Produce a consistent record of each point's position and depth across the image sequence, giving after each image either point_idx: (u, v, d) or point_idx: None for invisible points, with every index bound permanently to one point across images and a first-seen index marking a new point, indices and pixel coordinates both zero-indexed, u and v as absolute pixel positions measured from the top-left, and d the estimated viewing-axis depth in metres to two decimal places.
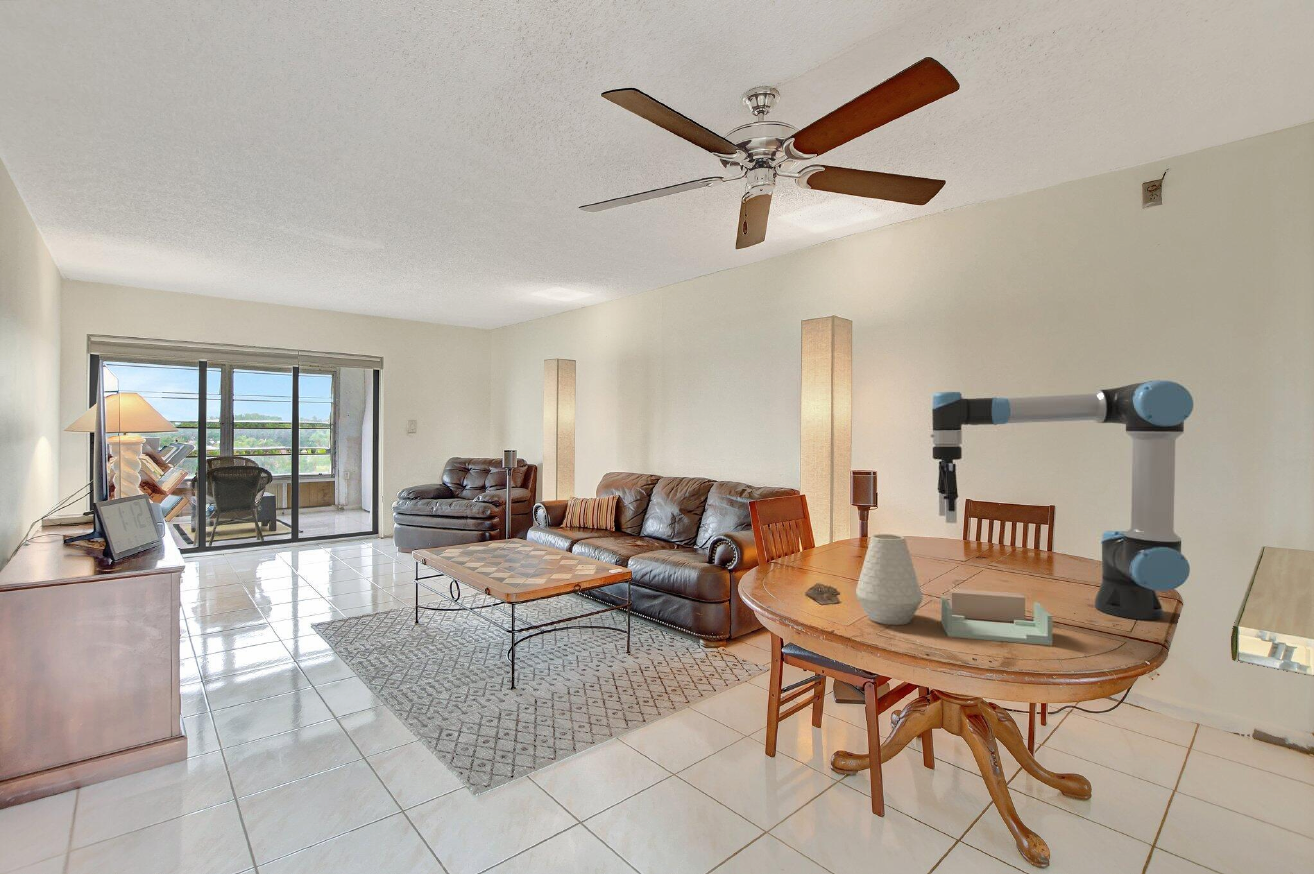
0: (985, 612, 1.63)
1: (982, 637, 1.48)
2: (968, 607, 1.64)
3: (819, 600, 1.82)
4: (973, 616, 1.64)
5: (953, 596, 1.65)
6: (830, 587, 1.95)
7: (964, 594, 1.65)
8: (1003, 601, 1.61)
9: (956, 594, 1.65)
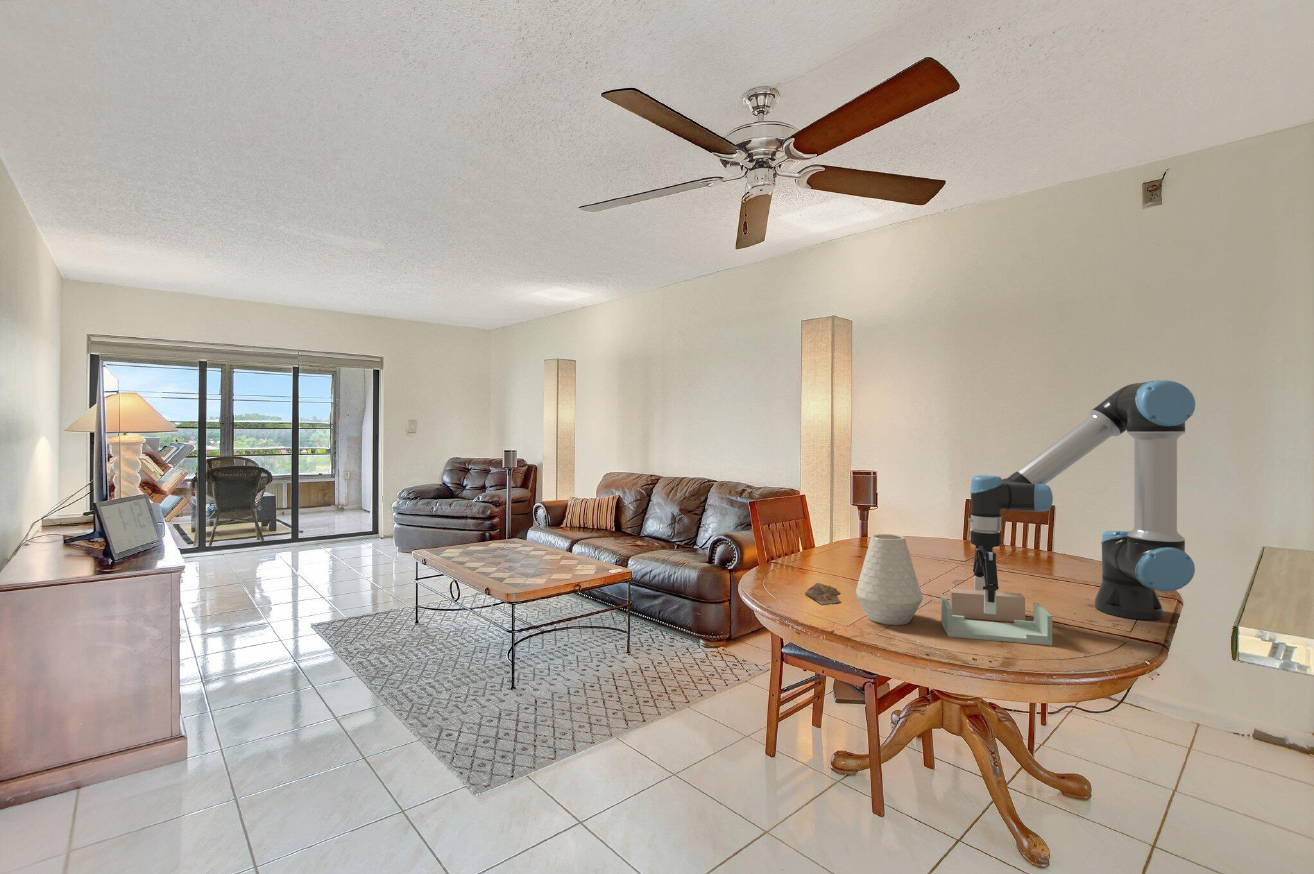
0: None
1: (982, 637, 1.48)
2: (968, 607, 1.64)
3: (819, 600, 1.82)
4: (973, 616, 1.64)
5: (953, 596, 1.66)
6: (830, 587, 1.95)
7: (964, 594, 1.65)
8: (1003, 602, 1.61)
9: (956, 594, 1.65)
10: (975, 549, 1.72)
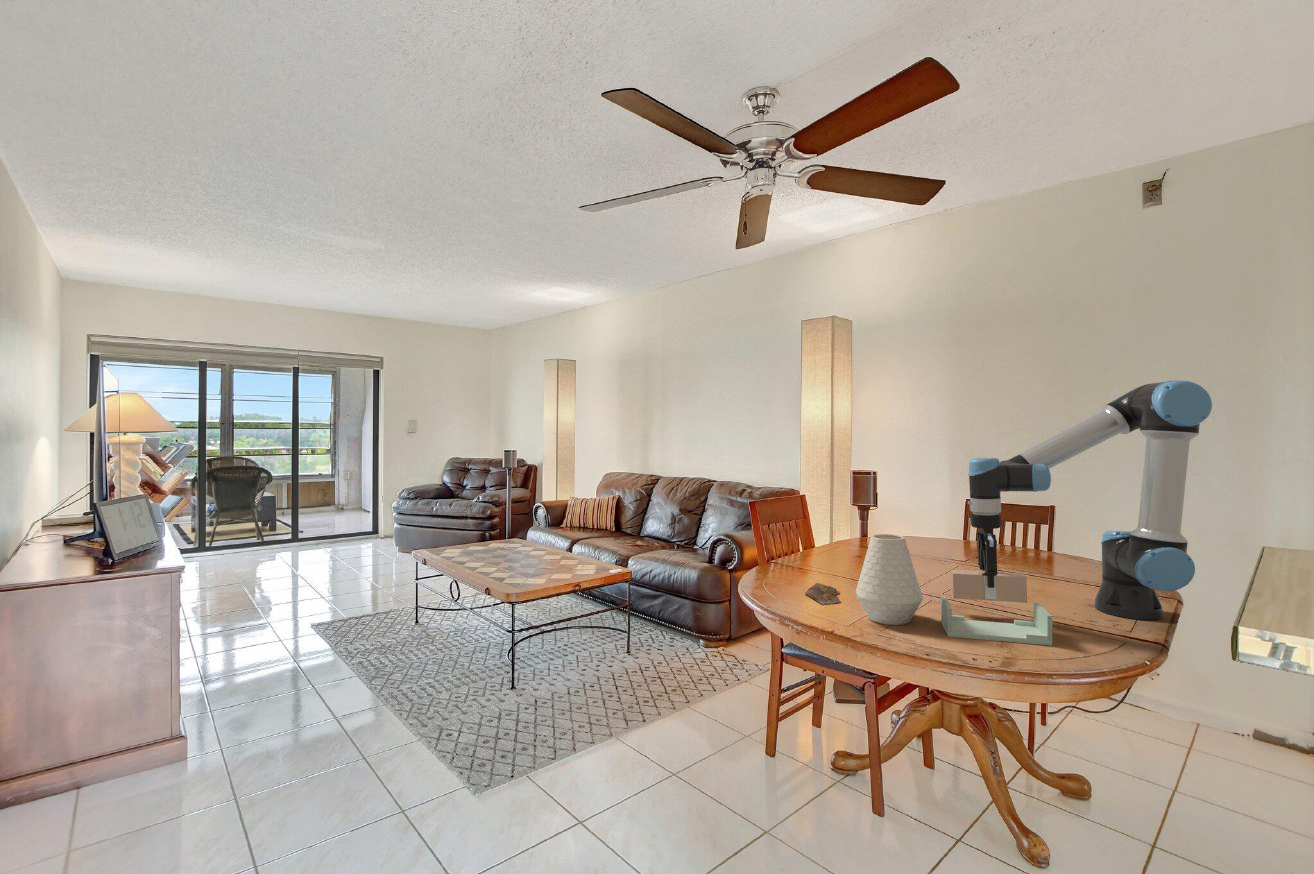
0: None
1: (982, 637, 1.48)
2: (969, 588, 1.64)
3: (819, 600, 1.82)
4: (975, 597, 1.64)
5: (954, 577, 1.65)
6: (830, 587, 1.95)
7: (965, 575, 1.64)
8: (1004, 581, 1.61)
9: (957, 575, 1.65)
10: (977, 538, 1.71)
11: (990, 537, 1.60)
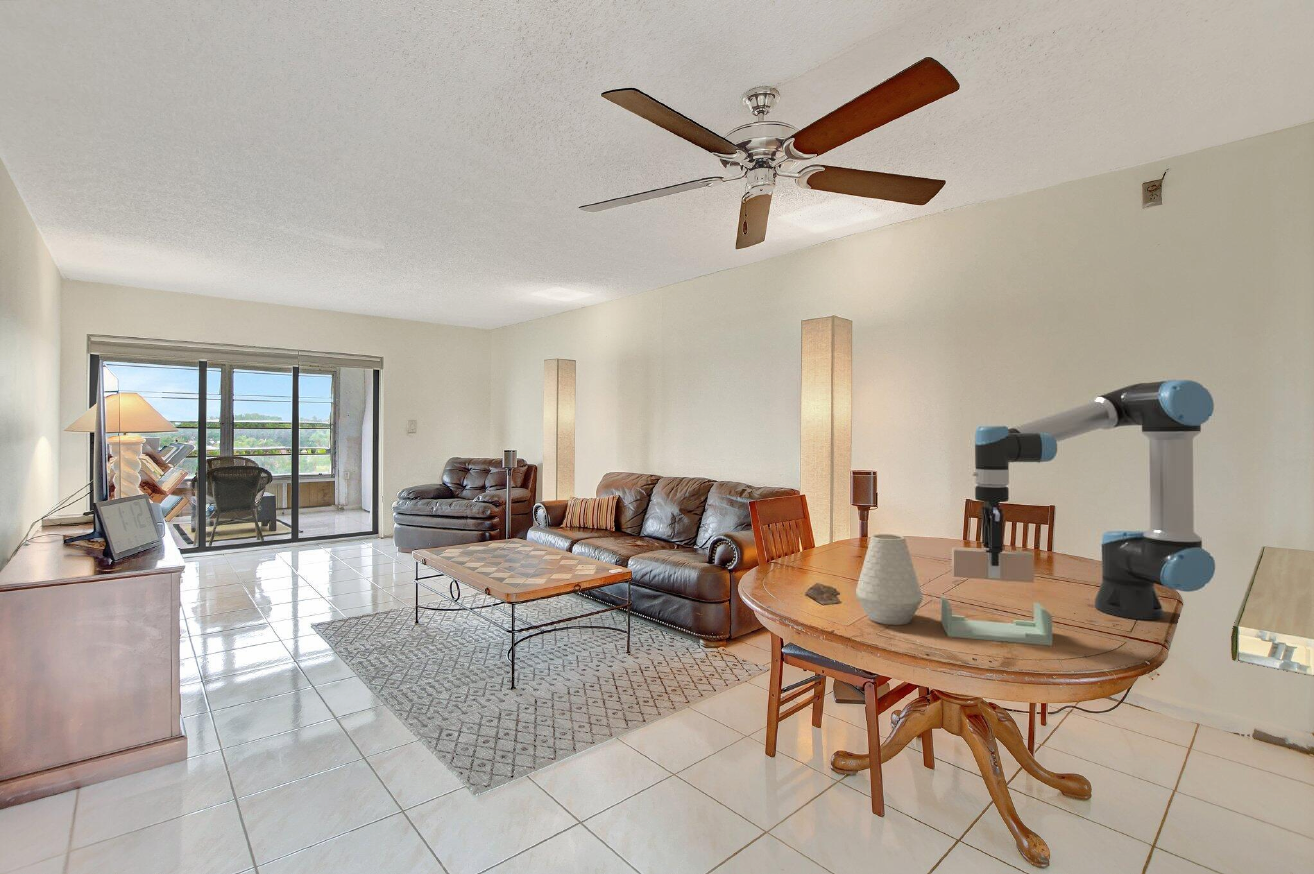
0: None
1: (982, 637, 1.48)
2: (971, 566, 1.52)
3: (819, 600, 1.82)
4: (977, 575, 1.51)
5: (955, 554, 1.53)
6: (830, 587, 1.95)
7: (967, 551, 1.52)
8: (1010, 559, 1.49)
9: (959, 551, 1.53)
10: None
11: (996, 511, 1.47)
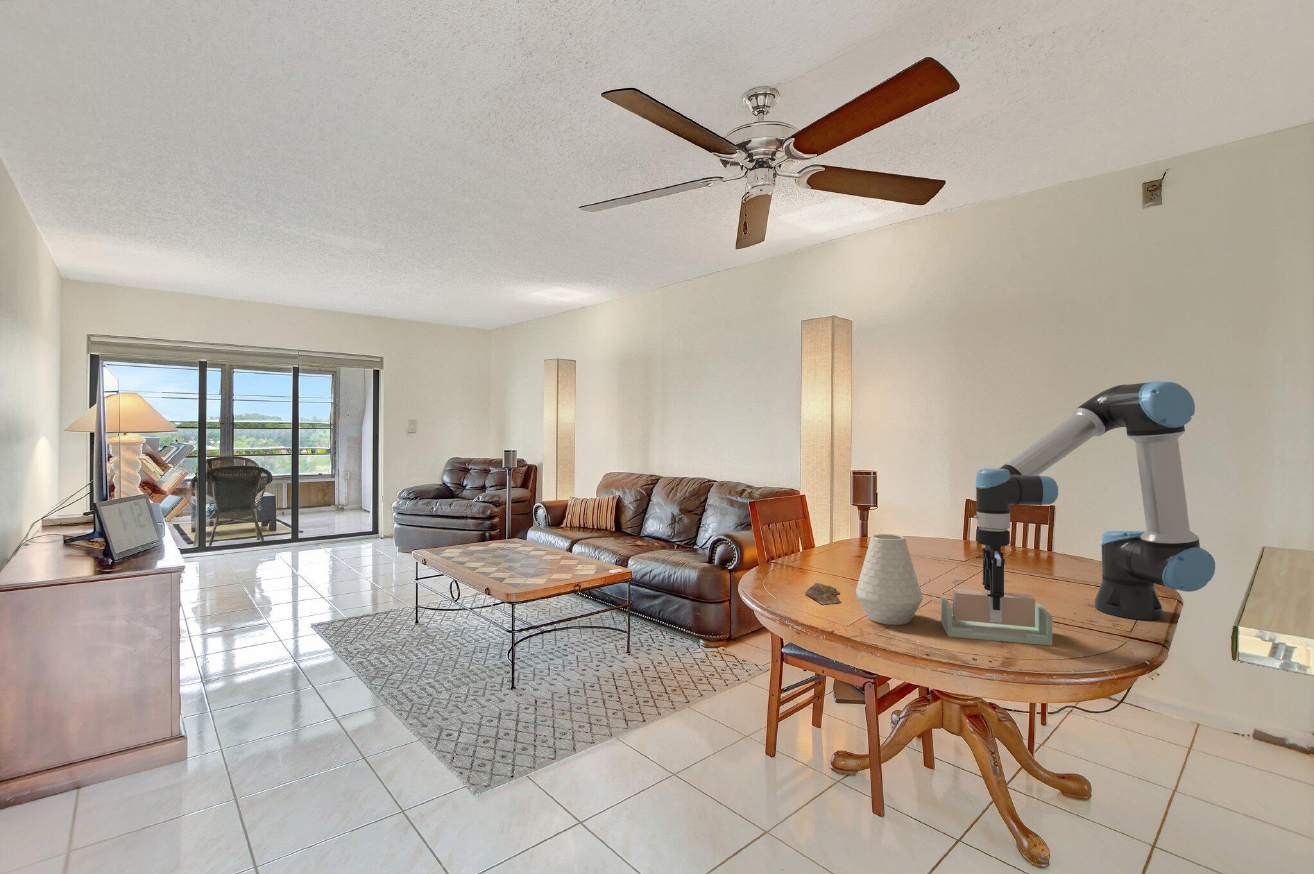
0: None
1: (982, 637, 1.48)
2: (972, 609, 1.51)
3: (820, 600, 1.82)
4: (978, 619, 1.51)
5: (956, 597, 1.52)
6: (829, 587, 1.95)
7: (969, 595, 1.52)
8: (1011, 603, 1.48)
9: (960, 595, 1.52)
10: None
11: (997, 555, 1.47)
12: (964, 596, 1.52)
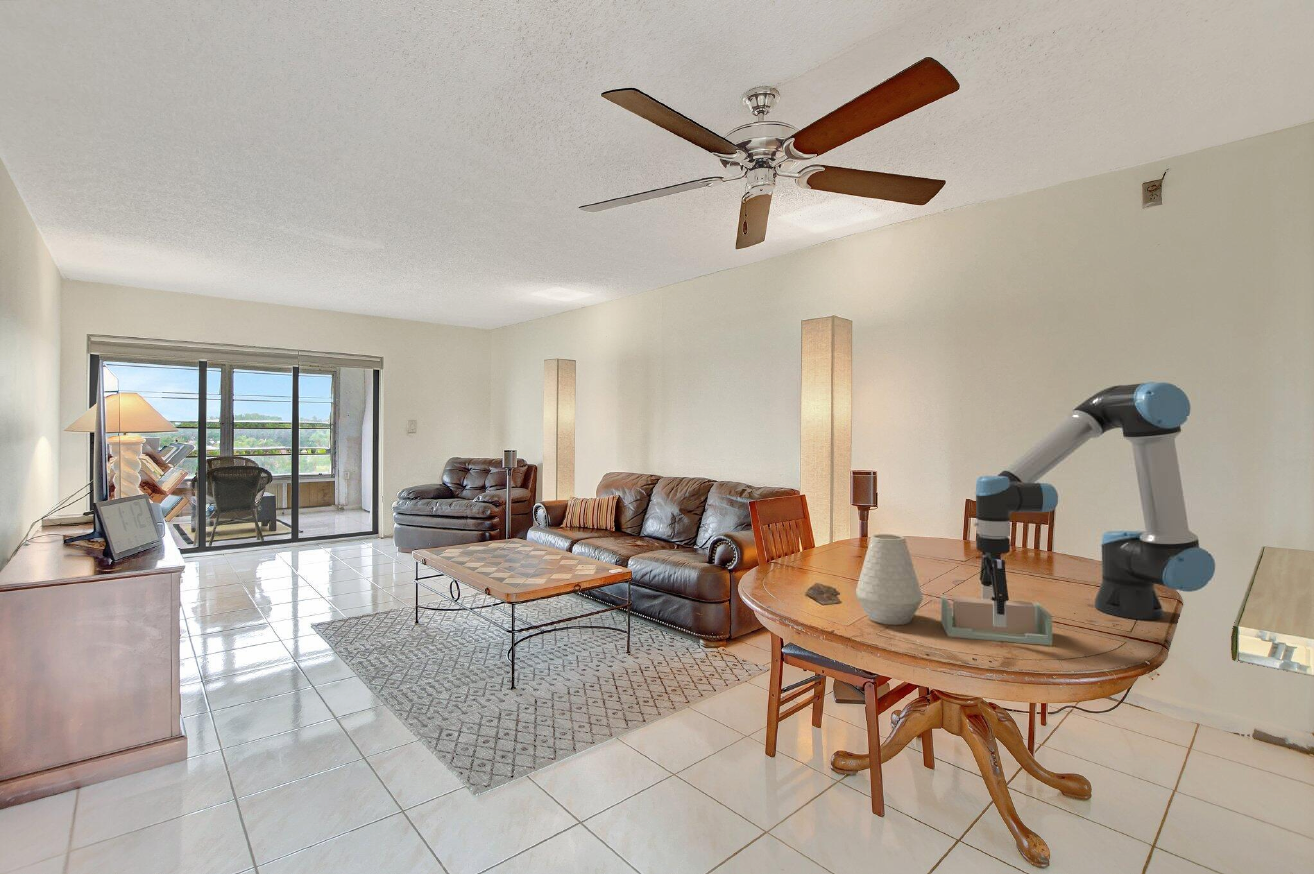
0: (991, 622, 1.50)
1: (982, 637, 1.48)
2: (973, 617, 1.51)
3: (820, 600, 1.82)
4: (979, 627, 1.51)
5: (957, 605, 1.52)
6: (829, 587, 1.96)
7: (969, 603, 1.52)
8: (1011, 611, 1.49)
9: (960, 603, 1.52)
10: (982, 556, 1.59)
11: (997, 559, 1.47)
12: (964, 604, 1.52)
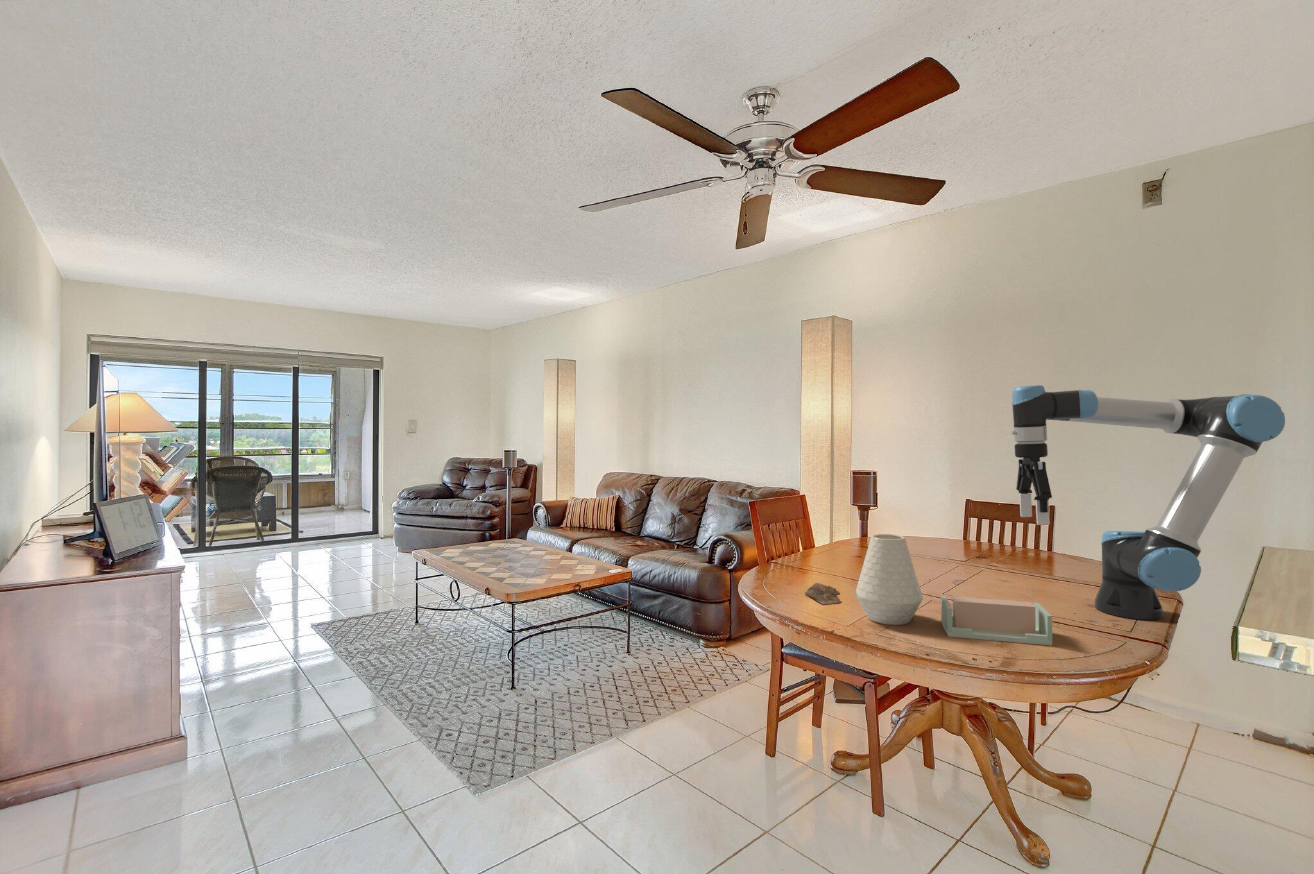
0: (991, 622, 1.50)
1: (982, 637, 1.48)
2: (973, 617, 1.51)
3: (820, 600, 1.82)
4: (979, 627, 1.51)
5: (957, 605, 1.52)
6: (829, 587, 1.96)
7: (969, 603, 1.52)
8: (1011, 611, 1.49)
9: (960, 603, 1.52)
10: None
11: None
12: (964, 604, 1.52)
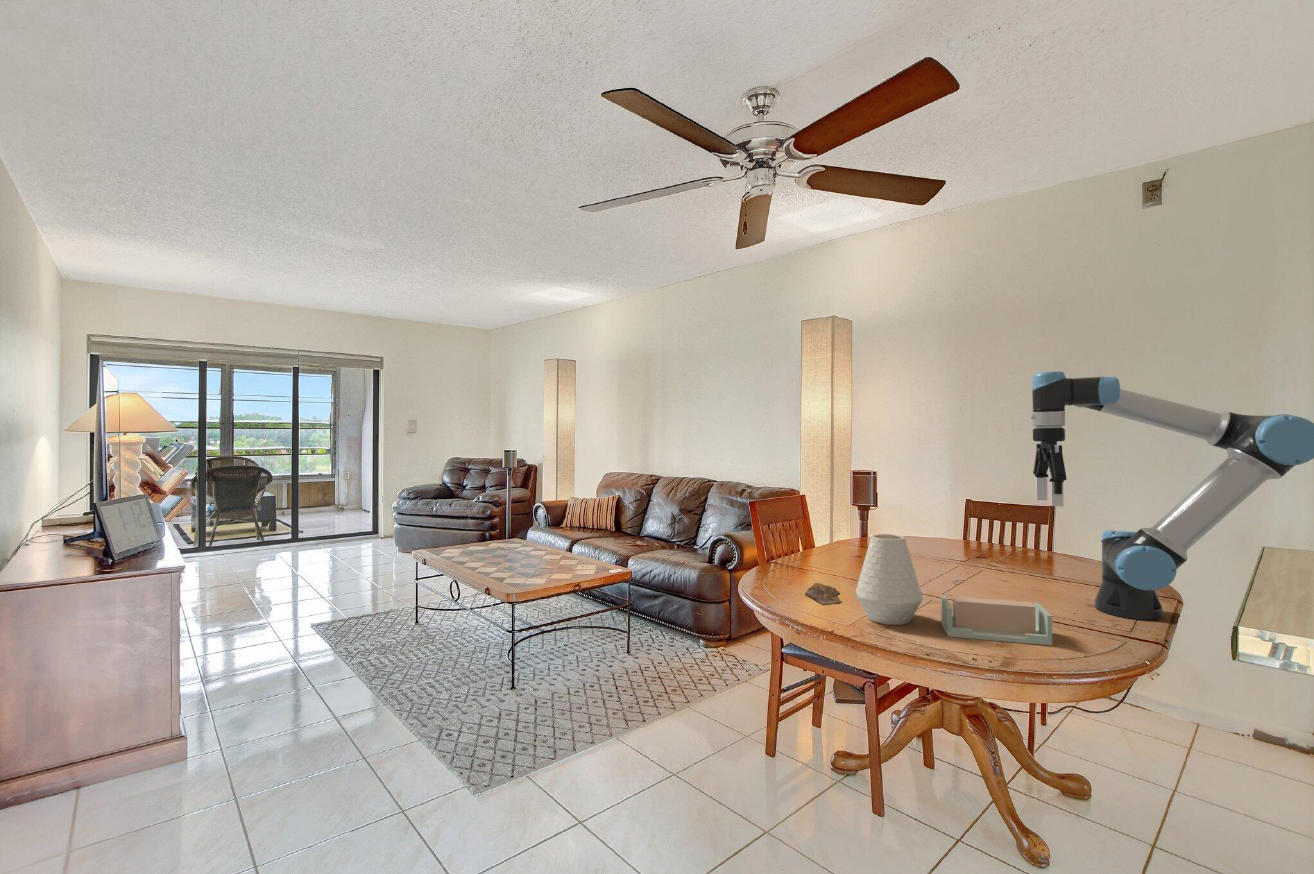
0: (991, 622, 1.50)
1: (982, 637, 1.48)
2: (973, 617, 1.51)
3: (820, 600, 1.82)
4: (979, 627, 1.51)
5: (957, 605, 1.52)
6: (829, 587, 1.96)
7: (969, 603, 1.52)
8: (1011, 611, 1.49)
9: (960, 603, 1.52)
10: (1036, 450, 1.72)
11: None
12: (964, 604, 1.52)
